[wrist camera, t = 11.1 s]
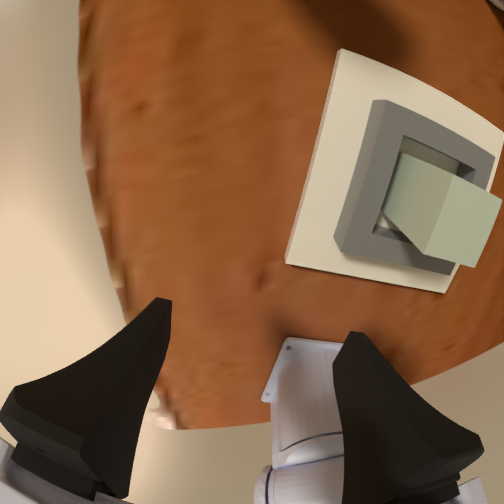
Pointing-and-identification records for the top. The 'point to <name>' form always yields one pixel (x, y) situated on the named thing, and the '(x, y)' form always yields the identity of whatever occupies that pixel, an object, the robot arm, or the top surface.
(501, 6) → the energy drink
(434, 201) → the plug block
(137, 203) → the top surface
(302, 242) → the dock
